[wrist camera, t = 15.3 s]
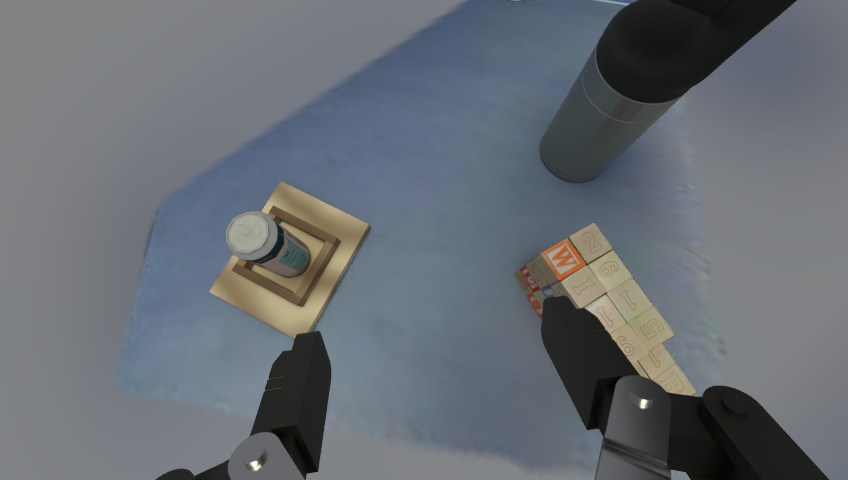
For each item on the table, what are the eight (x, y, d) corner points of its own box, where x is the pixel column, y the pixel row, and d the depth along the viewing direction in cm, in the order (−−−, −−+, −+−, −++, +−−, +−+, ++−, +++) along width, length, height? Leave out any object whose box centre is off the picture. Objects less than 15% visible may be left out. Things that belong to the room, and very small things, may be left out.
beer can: (271, 242, 46) (220, 211, 35) (310, 237, 47) (272, 204, 35) (273, 281, 45) (221, 261, 34) (312, 275, 45) (274, 253, 34)
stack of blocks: (659, 407, 43) (748, 433, 31) (615, 437, 42) (689, 475, 30) (552, 249, 48) (595, 220, 36) (511, 273, 47) (540, 251, 35)
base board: (285, 185, 50) (274, 174, 47) (370, 227, 49) (366, 219, 45) (215, 293, 46) (199, 289, 43) (305, 342, 45) (296, 342, 42)
